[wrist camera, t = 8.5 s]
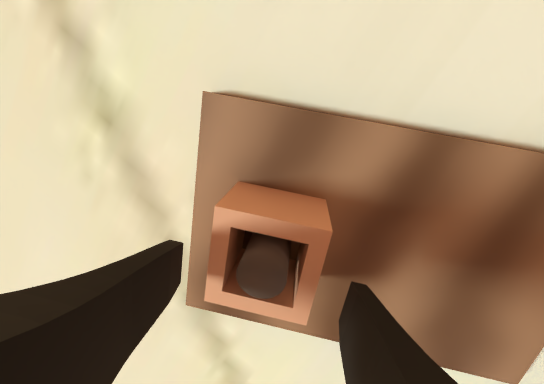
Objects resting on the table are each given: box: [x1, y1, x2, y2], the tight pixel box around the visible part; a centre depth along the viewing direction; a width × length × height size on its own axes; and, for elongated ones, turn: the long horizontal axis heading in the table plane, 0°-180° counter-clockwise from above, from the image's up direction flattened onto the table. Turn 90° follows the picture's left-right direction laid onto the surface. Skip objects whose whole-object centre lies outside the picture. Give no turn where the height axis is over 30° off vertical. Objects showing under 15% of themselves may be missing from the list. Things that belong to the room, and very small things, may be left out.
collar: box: [204, 181, 333, 326], centre depth 13 cm, size 5×5×4 cm
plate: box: [186, 91, 544, 384], centre depth 13 cm, size 22×14×6 cm, turn 81°
